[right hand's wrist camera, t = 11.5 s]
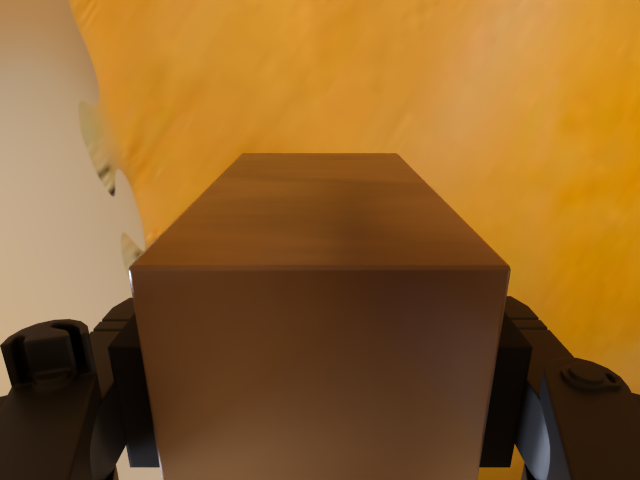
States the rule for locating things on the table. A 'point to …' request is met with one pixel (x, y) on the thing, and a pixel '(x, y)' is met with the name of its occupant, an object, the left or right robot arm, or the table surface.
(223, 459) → the brick
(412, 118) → the table surface
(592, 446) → the right robot arm
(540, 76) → the table surface
